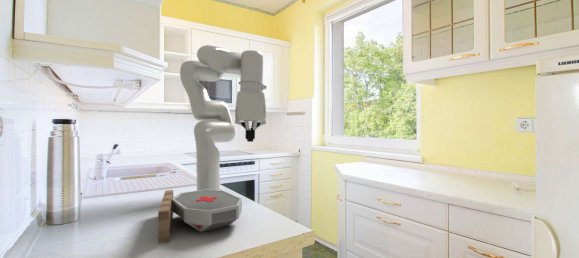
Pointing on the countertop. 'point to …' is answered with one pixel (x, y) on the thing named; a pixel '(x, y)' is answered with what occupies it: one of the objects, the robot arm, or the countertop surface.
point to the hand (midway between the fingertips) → (250, 141)
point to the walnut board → (165, 217)
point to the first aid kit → (207, 208)
